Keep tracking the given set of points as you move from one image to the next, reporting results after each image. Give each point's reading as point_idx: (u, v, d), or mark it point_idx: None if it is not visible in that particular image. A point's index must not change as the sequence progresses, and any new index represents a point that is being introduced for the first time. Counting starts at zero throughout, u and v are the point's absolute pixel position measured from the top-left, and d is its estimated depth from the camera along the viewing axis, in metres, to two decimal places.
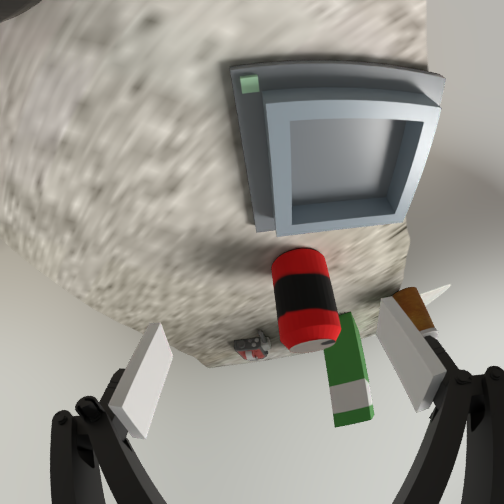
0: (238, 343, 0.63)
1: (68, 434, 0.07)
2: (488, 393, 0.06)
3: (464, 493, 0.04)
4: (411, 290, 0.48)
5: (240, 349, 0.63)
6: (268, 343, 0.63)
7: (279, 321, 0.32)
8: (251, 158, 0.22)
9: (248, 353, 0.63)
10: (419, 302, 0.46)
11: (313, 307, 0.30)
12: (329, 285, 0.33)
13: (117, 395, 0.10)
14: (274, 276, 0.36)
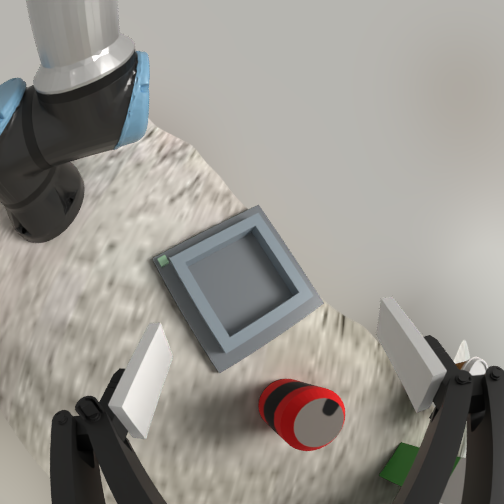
0: None
1: (68, 434, 0.07)
2: (488, 393, 0.06)
3: (464, 493, 0.04)
4: None
5: None
6: None
7: (276, 428, 0.25)
8: (183, 307, 0.35)
9: None
10: None
11: (292, 390, 0.27)
12: (307, 384, 0.31)
13: (117, 395, 0.10)
14: (262, 414, 0.31)
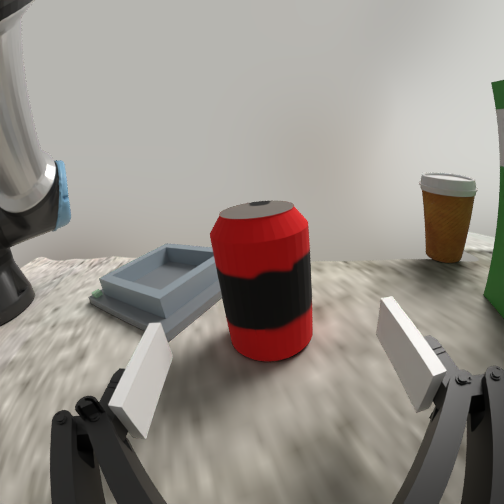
0: None
1: (68, 434, 0.07)
2: (488, 393, 0.06)
3: (464, 493, 0.04)
4: None
5: None
6: None
7: (224, 268, 0.20)
8: (118, 308, 0.31)
9: None
10: None
11: None
12: None
13: (117, 395, 0.10)
14: (235, 335, 0.22)
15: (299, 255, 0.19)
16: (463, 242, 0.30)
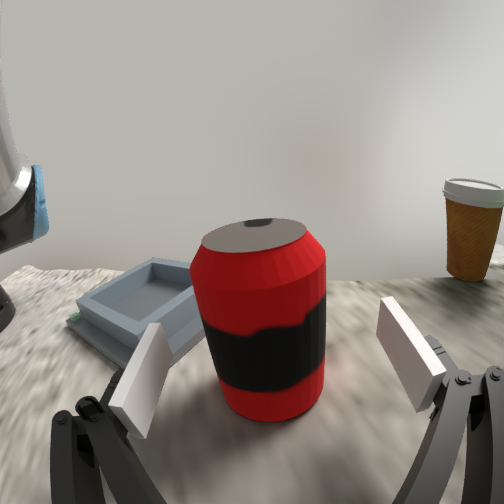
0: None
1: (68, 434, 0.07)
2: (488, 393, 0.06)
3: (464, 493, 0.04)
4: None
5: None
6: None
7: (209, 318, 0.14)
8: (94, 338, 0.25)
9: None
10: None
11: None
12: None
13: (117, 395, 0.10)
14: (227, 392, 0.16)
15: (314, 302, 0.13)
16: (489, 259, 0.24)
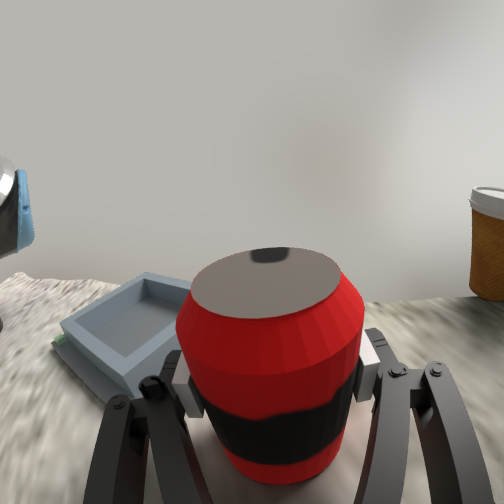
0: None
1: (122, 420, 0.09)
2: (432, 391, 0.08)
3: (431, 489, 0.05)
4: None
5: None
6: None
7: (204, 392, 0.09)
8: (79, 368, 0.21)
9: None
10: None
11: None
12: None
13: (180, 373, 0.11)
14: (229, 455, 0.12)
15: (347, 373, 0.09)
16: None
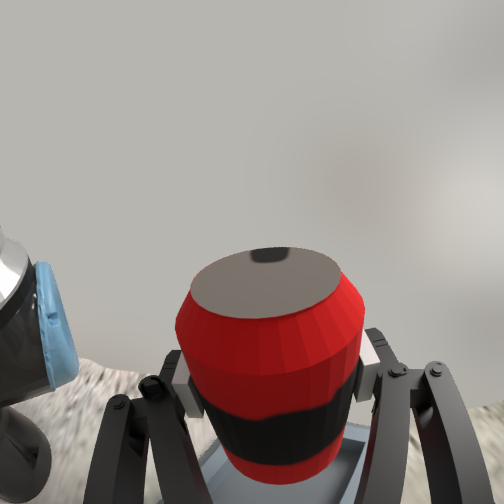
0: None
1: (122, 420, 0.09)
2: (432, 391, 0.08)
3: (431, 489, 0.05)
4: None
5: None
6: None
7: (203, 392, 0.09)
8: None
9: None
10: None
11: None
12: None
13: (180, 373, 0.11)
14: (229, 455, 0.12)
15: (348, 373, 0.09)
16: None
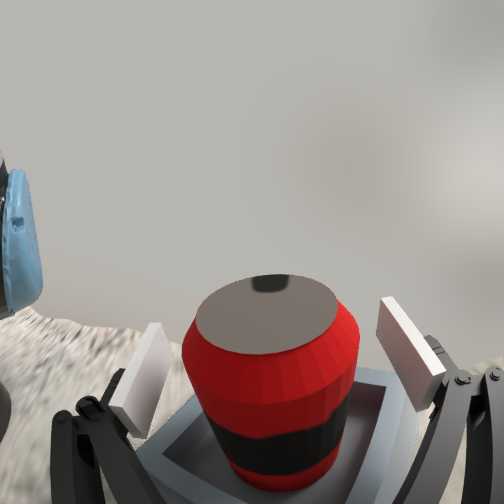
0: None
1: (68, 434, 0.07)
2: (488, 393, 0.06)
3: (464, 493, 0.04)
4: None
5: None
6: None
7: (209, 413, 0.10)
8: None
9: None
10: None
11: None
12: None
13: (117, 395, 0.10)
14: (233, 466, 0.12)
15: (343, 396, 0.09)
16: None
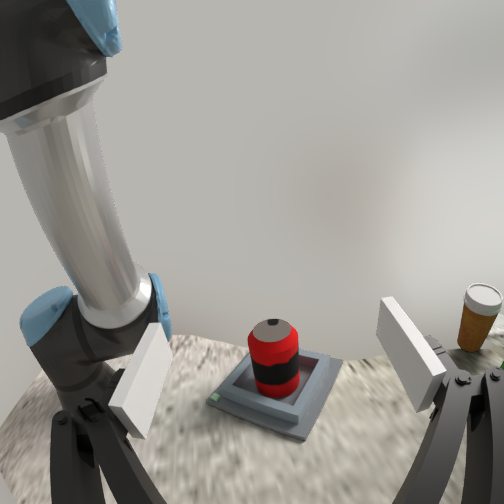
0: None
1: (68, 434, 0.07)
2: (488, 393, 0.06)
3: (464, 493, 0.04)
4: (458, 336, 0.43)
5: None
6: None
7: (256, 360, 0.38)
8: (248, 415, 0.38)
9: None
10: None
11: None
12: None
13: (117, 395, 0.10)
14: (259, 385, 0.41)
15: (292, 355, 0.38)
16: (485, 338, 0.37)
